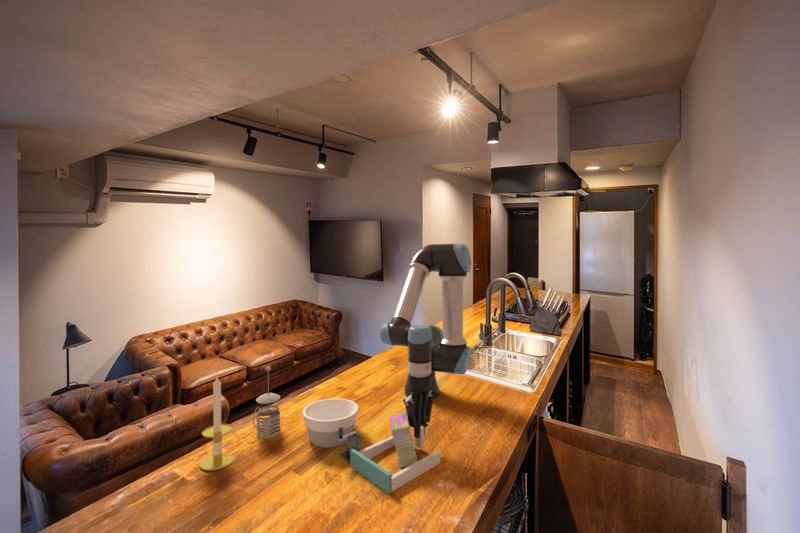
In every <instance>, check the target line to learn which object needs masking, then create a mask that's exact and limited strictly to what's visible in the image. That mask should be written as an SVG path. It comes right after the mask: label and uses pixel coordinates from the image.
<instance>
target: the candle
mask: <svg viewBox="0 0 800 533" xmlns="http://www.w3.org/2000/svg"><path fill="white" fill-rule="evenodd" d="M212 388H213V390H212V392H213V393H212V394H213V395H212V396H213V399H212V402H213V407H212V408H213V409H212V410H213V425H210V426H208V427H206V428H204V429H203V430H202V432H201V436H203V437H204V438H207V439H211V438H212V454H213V455H207V456H206V457H205V458H203V459H201V460H200V463H199V468H200V469H201V470H202V471H205V472H206V471H207V472H208V471H209V472H214V471H218V470H219V471H220V470H222V469H224V468H227V467H229V466H230V465H231V464H233V462H234V461H235V460H236V456H235V455H223V437H224V436H226V435H228V434H229V433H231V431H233V425H232V424H231V423H230V424H228V423H222V382H221V381H220V379H219V377H218V376H216V377H215V380H214V382H213V384H212Z"/></svg>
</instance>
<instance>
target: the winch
mask: <svg viewBox="0 0 800 533" xmlns="http://www.w3.org/2000/svg"><path fill="white" fill-rule="evenodd" d="M344 440H346V442H345V451H344V452H342V453H340V454H339V456H340V457H341V458H343V459H344V460H345V461H346V462H347V463H348V464H350V450H352V449H355V450H356V451H360V450H361V434H360V433H359V432H357V431H356V430H353V432H351V433H348V434H347V435H344V436H343V427H339V428H338V441H339V442H341V441H344Z"/></svg>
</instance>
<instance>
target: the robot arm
mask: <svg viewBox="0 0 800 533" xmlns="http://www.w3.org/2000/svg"><path fill="white" fill-rule="evenodd" d="M471 270H472V259H471V253H470V250H469V248H468V247H467V245H466V244H464V243H441V244H440V243H439V244H436V243H434V244H433V243H432V244H428V245H425V246H423V247H422V248H420V249H419V250H418V251H417V252H416V253H414V255H413V256H412V258H411V259H410V261H409V263H408V266H407V276H406V279H405V282H404V284H403V287H402V289H401V291H400V292H401V293H400V295H399V297H398V298H399V299H398V301H397V304H396V307H395V309H394V311H393V313H392V314H393V315H392V317H391V321H390V322H389V323H388V322H387V323H383V325H381V327H380V330H379V338H380V341H381V343H382V344H384V345H389V346H397V347H398V346H400V347H401V346H402V347H407V350H408V351H407V355H408V357H407V358H408V362H407V363H408V364H407V366H408V367H407V370H408V371H407V372H408V373H407V374H408V375H407V378H406V382H405V385H404V395H405V396H407V398H403V400H402V402H403V404H404V406H405V412H406V415H407V419H408V423H409V427H410V428H411V427H412V428H413V437H414V447H415V446H416V447H417V448H420V449H423V448H425V435H426V428H427V427H428V426H429V424H428V423H430V421H431V417H432V409H433V403H434V399H435V398H437V397H438V396H439V395H440V387H439V384H438V382H437V377H436V372H437V373H446V374H453V375H464V374H466V373H467V371H468V370H469V366H470V362H471V356H472V348H471V347H470V346H469V345H467V343H468V342H467V340H466V339H465V338H464V280H465V279H466V278H467V276H468V273H470V272H471ZM432 272H437V273H438V277H439V278H440V279H441V281H442V282H441V283H442V286H441V288H442V292H441V294H442V296H441V297H442V301H441V304H442V307H441V308H442V309H441V310H442V313H441V314H442V315H441V316H442V318H441V320H442V325H441V326H442V328H440V327H439V326H437V325H428V324H427V325H426V324H414V325H411V324H412V323H413V322H412V321H413V319H414V315H415V313H416V311H417V310H416V309H417V306H418V304H419V300H420V298H421V295H422V294H421V293H422V291H423V288H424V285H425V281H426V279H427V278H429V277H430V274H431V273H432Z"/></svg>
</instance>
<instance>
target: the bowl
mask: <svg viewBox="0 0 800 533" xmlns="http://www.w3.org/2000/svg"><path fill="white" fill-rule="evenodd" d="M359 408H360V407H359V405H358V404H357V403H356V402H355V401H353V400H350V399H346V398H340V397H339V398H325V399H319V400H316V401H313V402H311V403H309V404H307V405H306V406H305V407H303V409H302V411H301V412H302V414H301V415H302V417H303V420H304V421H303V422H304V424H305V427H306V432H307V435H308V439H309V441H310V443H311V444H312V445H314V446H316V447H318V448H319V447H320V448H334V447H339V446H342V445H344V444H346V440H344V441H341V442H339V441H338V428H339V427H343V436H344V435H347V434H348V433H351V432H354V429H355V424H356V420H357V417H358V414H359V413H358V412H359Z"/></svg>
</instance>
